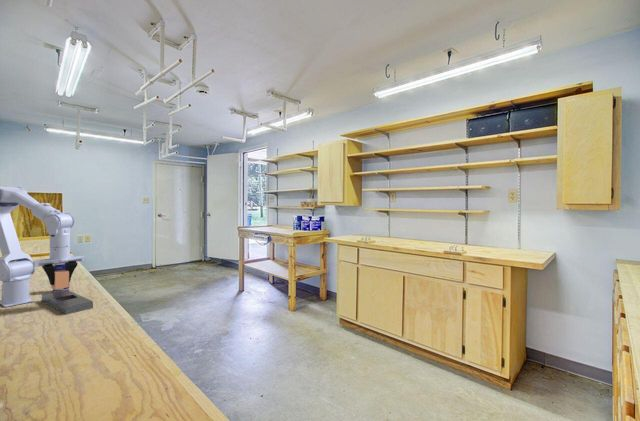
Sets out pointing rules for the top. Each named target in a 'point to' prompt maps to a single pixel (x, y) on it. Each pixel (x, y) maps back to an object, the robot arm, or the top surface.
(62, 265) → the energy drink
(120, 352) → the top surface
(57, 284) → the square block
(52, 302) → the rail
